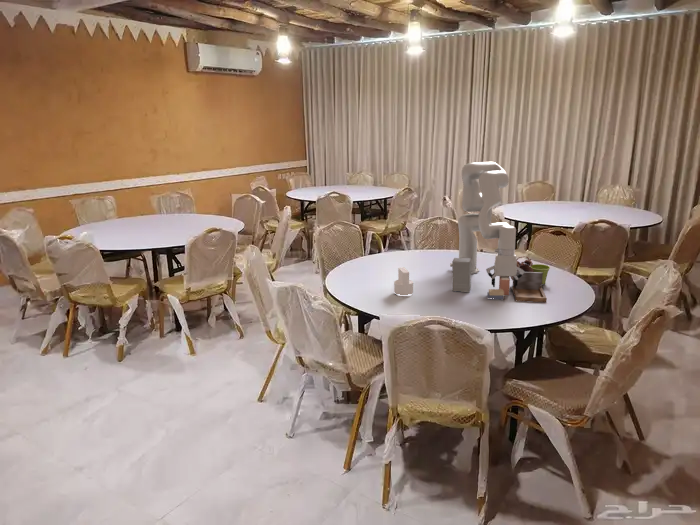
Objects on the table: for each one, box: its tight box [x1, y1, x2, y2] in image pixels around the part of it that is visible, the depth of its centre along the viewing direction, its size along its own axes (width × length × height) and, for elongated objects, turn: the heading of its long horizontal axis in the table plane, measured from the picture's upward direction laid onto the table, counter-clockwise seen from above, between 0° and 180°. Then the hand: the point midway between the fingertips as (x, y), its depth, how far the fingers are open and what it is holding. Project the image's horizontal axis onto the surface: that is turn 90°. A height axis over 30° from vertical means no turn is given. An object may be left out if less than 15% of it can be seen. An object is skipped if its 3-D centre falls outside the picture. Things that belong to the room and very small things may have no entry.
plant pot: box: [530, 263, 551, 285], centre depth 253 cm, size 9×9×9 cm
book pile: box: [486, 288, 504, 300], centre depth 234 cm, size 7×4×4 cm, turn 78°
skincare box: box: [451, 257, 472, 293], centre depth 244 cm, size 8×7×16 cm
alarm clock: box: [510, 256, 534, 281], centre depth 249 cm, size 11×5×15 cm, turn 100°
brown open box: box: [511, 272, 548, 303], centre depth 235 cm, size 13×17×9 cm
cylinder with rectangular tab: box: [393, 266, 414, 295], centre depth 242 cm, size 9×9×12 cm
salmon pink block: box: [498, 276, 511, 296], centre depth 241 cm, size 4×9×8 cm, turn 168°
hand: (504, 286), depth 241 cm, fingers open, 9 cm apart
